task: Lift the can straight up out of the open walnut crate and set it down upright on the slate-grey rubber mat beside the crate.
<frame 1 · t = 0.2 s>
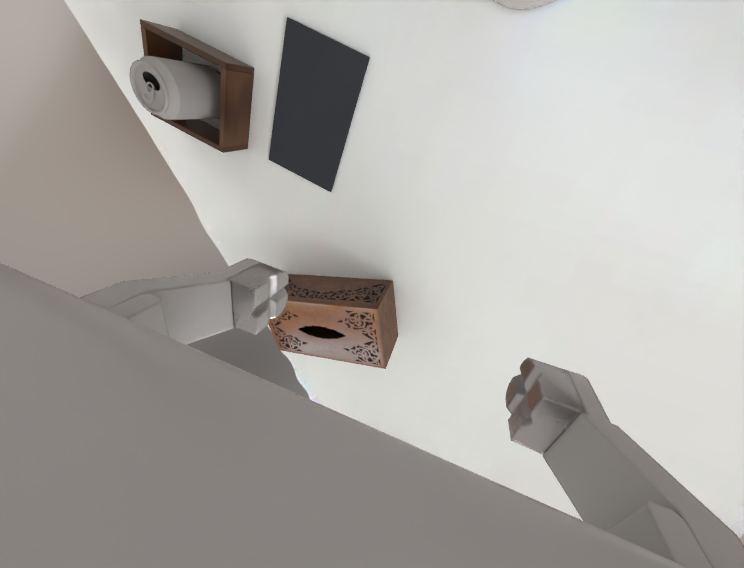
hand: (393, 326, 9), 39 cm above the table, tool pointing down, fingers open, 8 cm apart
crate: (214, 93, 47), on the table
can: (215, 93, 48), resting in crate
tissue box cover: (341, 304, 63), on the table
mat: (312, 115, 44), on the table
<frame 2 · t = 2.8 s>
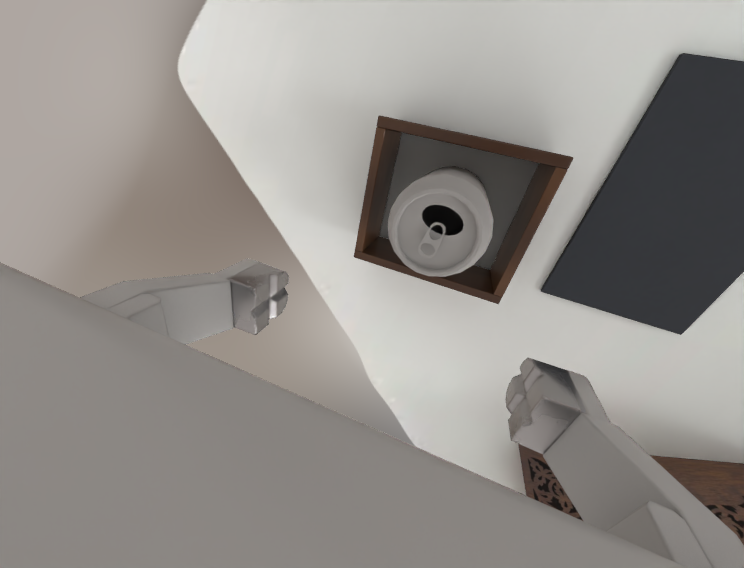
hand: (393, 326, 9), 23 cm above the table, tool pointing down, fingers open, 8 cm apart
crate: (448, 204, 29), on the table
can: (448, 204, 29), resting in crate
tissue box cover: (631, 489, 37), on the table
mat: (679, 215, 23), on the table
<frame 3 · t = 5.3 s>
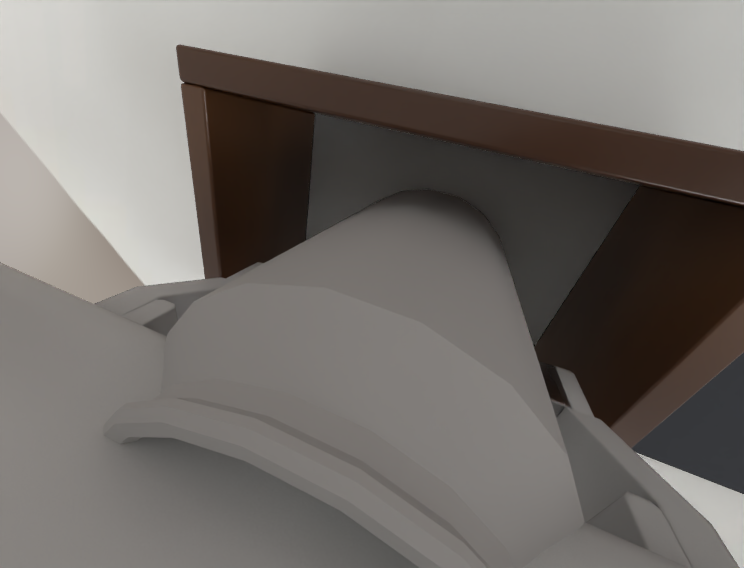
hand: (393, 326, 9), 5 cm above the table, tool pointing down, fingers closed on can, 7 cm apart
crate: (421, 265, 14), on the table
can: (421, 263, 14), resting in crate, touching gripper
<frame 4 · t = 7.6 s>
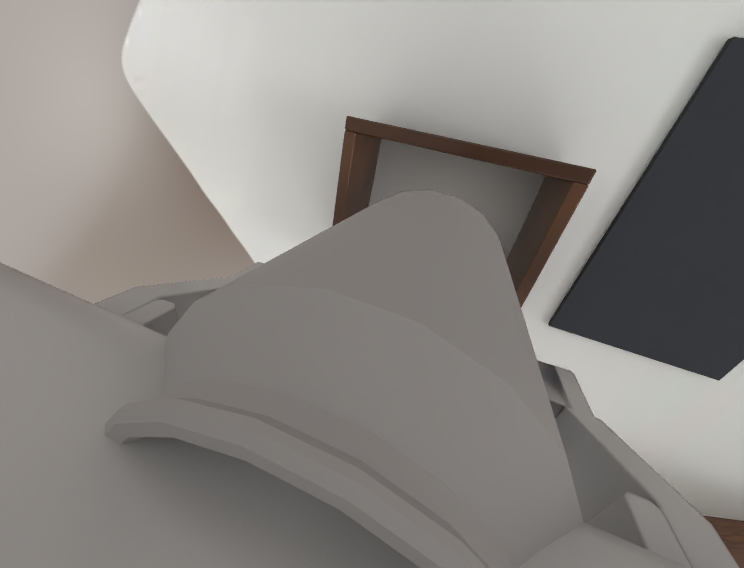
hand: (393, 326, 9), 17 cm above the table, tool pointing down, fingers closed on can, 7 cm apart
crate: (438, 222, 24), on the table
can: (421, 264, 14), point 12 cm above the table, touching gripper
tissue box cover: (653, 547, 32), on the table
mat: (720, 240, 19), on the table
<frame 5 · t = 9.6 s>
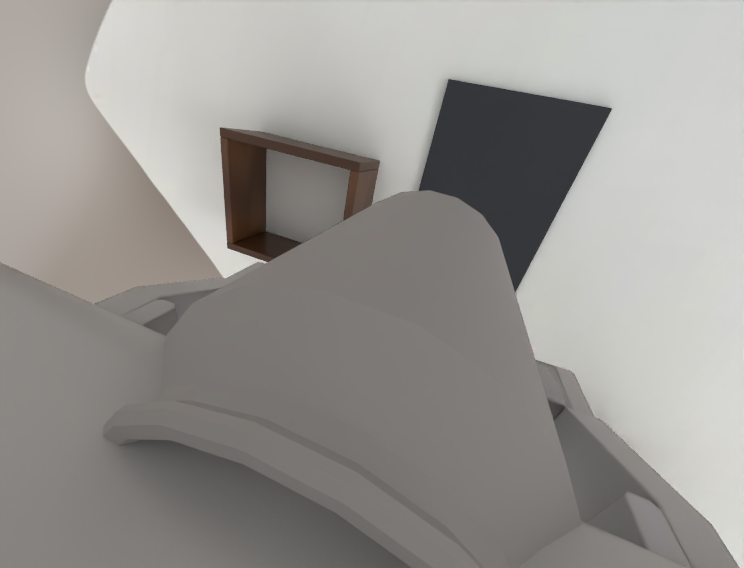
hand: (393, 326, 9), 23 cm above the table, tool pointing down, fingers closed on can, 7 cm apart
crate: (312, 202, 33), on the table
can: (421, 264, 14), point 17 cm above the table, touching gripper
mat: (479, 211, 28), on the table
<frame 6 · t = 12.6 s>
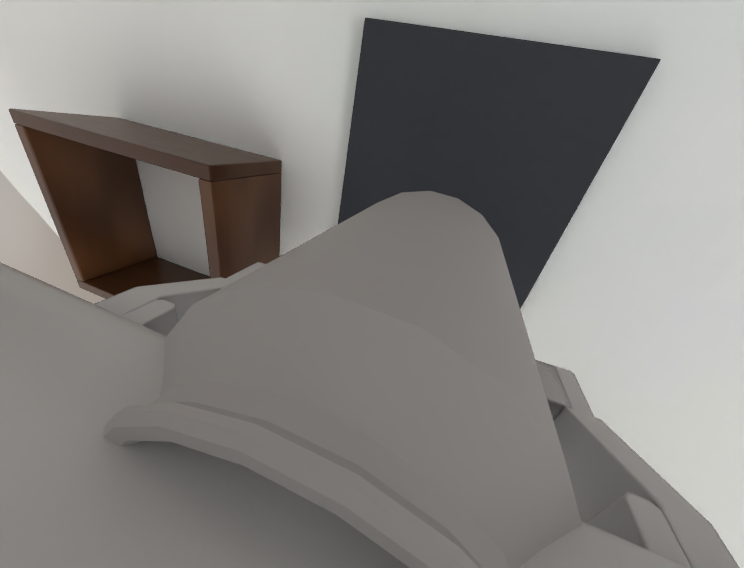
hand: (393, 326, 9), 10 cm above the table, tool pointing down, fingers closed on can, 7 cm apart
crate: (204, 221, 23), on the table
can: (421, 265, 14), point 4 cm above the table, touching gripper
mat: (433, 239, 18), on the table
when the fingers open (6 cm above the table, at t = 14.3 s): can stays where it is, resting on mat.
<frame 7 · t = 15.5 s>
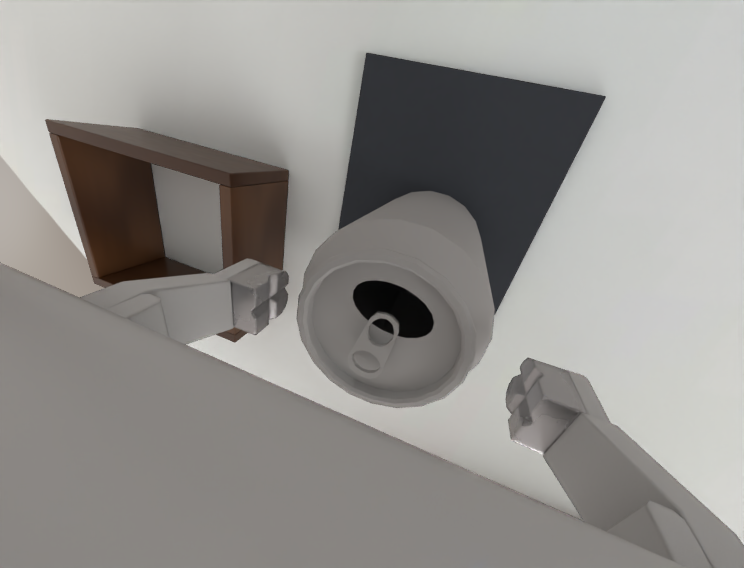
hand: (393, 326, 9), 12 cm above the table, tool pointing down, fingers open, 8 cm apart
crate: (214, 223, 25), on the table
can: (424, 243, 20), resting on mat
mat: (423, 242, 20), on the table
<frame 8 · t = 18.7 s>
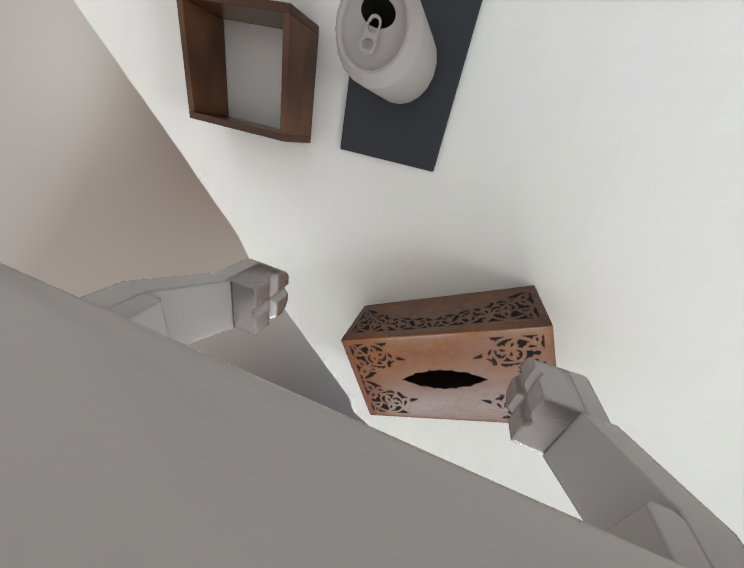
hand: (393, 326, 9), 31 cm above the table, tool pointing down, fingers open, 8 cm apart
crate: (266, 79, 37), on the table
can: (404, 66, 31), resting on mat
tissue box cover: (448, 335, 45), on the table
mat: (404, 66, 32), on the table
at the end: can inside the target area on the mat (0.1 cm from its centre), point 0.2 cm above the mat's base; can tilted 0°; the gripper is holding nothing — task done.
